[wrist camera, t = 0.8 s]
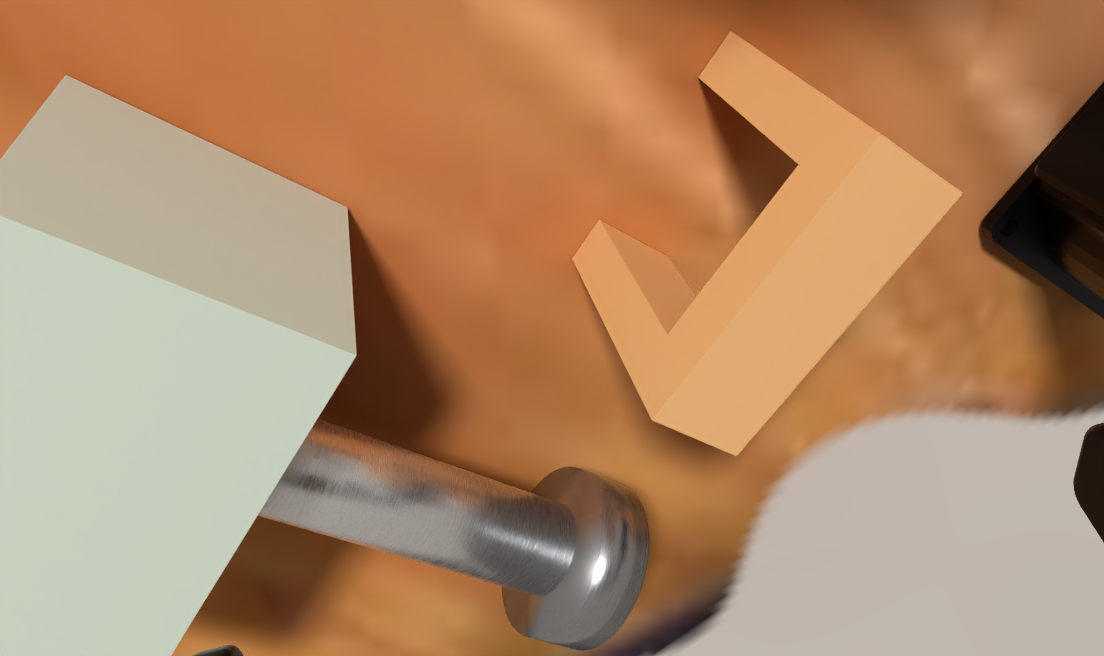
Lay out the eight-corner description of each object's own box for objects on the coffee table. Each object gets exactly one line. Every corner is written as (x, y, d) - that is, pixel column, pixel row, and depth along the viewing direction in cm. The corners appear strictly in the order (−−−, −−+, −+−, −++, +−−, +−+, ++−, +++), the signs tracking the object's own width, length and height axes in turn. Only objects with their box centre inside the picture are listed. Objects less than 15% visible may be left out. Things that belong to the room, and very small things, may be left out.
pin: (619, 451, 25) (670, 570, 21) (533, 558, 26) (568, 686, 23) (163, 271, 19) (128, 391, 16) (89, 420, 21) (41, 561, 17)
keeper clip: (798, 79, 21) (962, 193, 16) (640, 293, 23) (736, 455, 18) (730, 30, 20) (880, 133, 15) (571, 258, 22) (651, 420, 17)
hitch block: (347, 207, 20) (356, 355, 15) (172, 514, 24) (133, 715, 19) (65, 75, 18) (-34, 202, 13) (-85, 443, 21) (-209, 655, 16)
